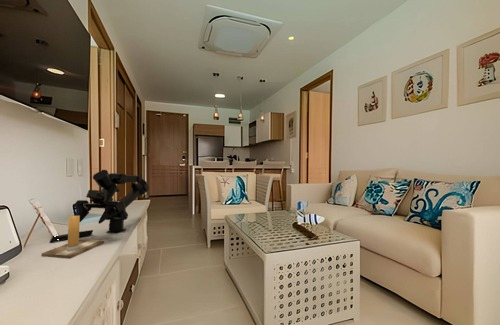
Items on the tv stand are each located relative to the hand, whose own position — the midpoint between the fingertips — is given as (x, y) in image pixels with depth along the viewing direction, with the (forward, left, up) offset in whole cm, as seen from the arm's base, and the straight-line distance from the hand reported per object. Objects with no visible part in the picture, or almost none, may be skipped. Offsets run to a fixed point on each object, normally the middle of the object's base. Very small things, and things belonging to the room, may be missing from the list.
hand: (88, 222), depth 93 cm
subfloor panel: (+5, -1, -9) cm, 11 cm away
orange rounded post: (+8, +1, -8) cm, 11 cm away
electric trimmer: (-6, -14, -10) cm, 18 cm away
